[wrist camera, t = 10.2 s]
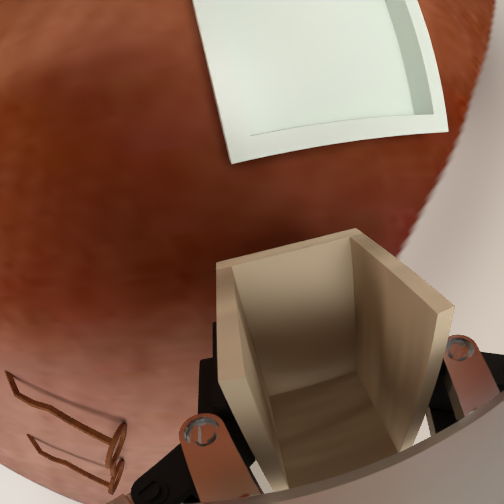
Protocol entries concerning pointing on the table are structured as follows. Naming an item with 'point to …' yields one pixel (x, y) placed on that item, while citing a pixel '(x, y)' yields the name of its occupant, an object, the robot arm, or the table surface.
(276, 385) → the beige open holder
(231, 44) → the tray
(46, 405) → the glasses
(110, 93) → the table surface
